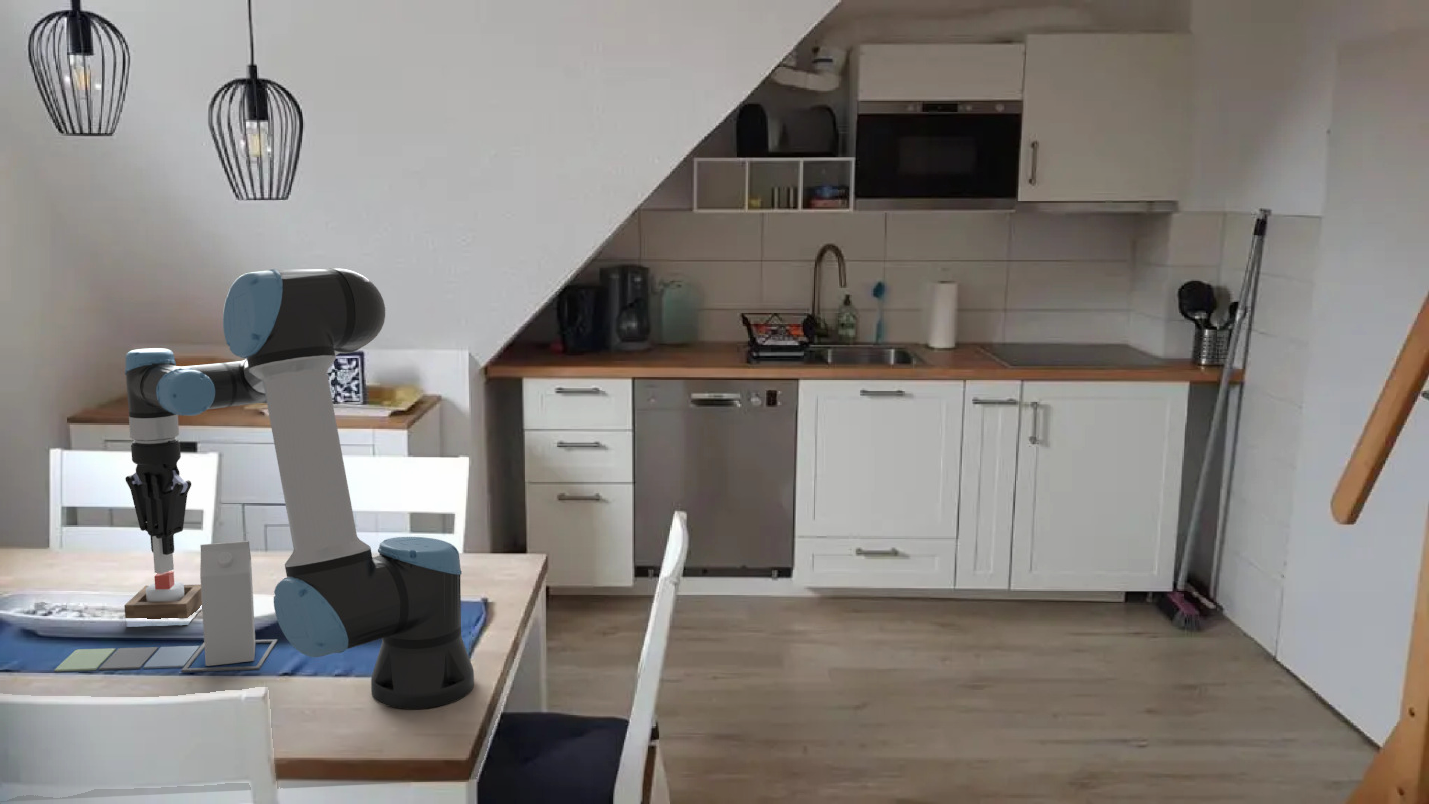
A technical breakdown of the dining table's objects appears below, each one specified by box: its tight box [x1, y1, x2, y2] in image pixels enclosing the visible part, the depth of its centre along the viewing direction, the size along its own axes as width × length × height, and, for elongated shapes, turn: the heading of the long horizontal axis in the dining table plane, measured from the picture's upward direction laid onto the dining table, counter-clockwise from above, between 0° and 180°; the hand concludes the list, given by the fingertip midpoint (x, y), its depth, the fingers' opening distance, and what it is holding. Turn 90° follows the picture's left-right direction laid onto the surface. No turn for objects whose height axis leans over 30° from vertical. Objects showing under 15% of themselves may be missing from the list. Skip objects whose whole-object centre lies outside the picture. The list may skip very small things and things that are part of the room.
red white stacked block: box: [146, 570, 185, 602], centre depth 196 cm, size 6×6×6 cm
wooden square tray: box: [123, 583, 202, 619], centre depth 196 cm, size 10×10×4 cm
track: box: [54, 639, 278, 673], centre depth 179 cm, size 12×31×1 cm, turn 98°
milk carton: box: [199, 540, 256, 667], centre depth 179 cm, size 7×7×19 cm
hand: (164, 570), depth 195 cm, fingers closed
